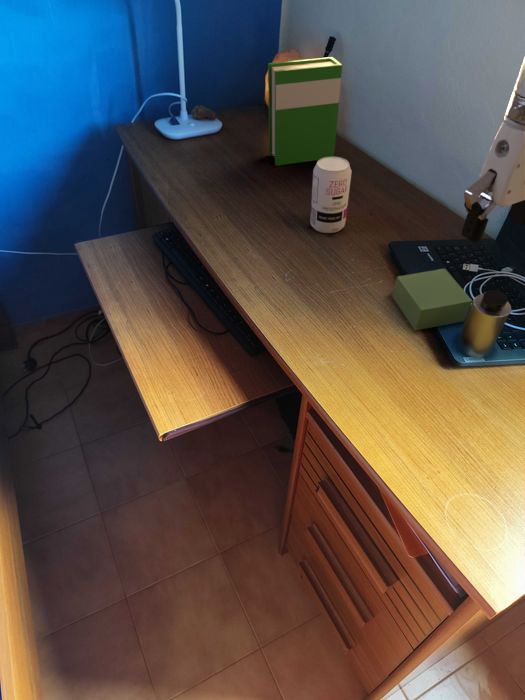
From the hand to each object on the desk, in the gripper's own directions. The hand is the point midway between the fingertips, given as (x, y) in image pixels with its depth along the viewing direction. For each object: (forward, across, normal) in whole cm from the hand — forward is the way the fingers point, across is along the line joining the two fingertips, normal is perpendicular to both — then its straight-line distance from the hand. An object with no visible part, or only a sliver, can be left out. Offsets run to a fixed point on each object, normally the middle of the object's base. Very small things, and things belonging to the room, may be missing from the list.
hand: (493, 229), depth 70 cm
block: (+21, 0, +7) cm, 22 cm away
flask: (+21, 0, -5) cm, 21 cm away
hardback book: (+21, +15, +77) cm, 81 cm away
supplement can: (+21, 0, +41) cm, 46 cm away
